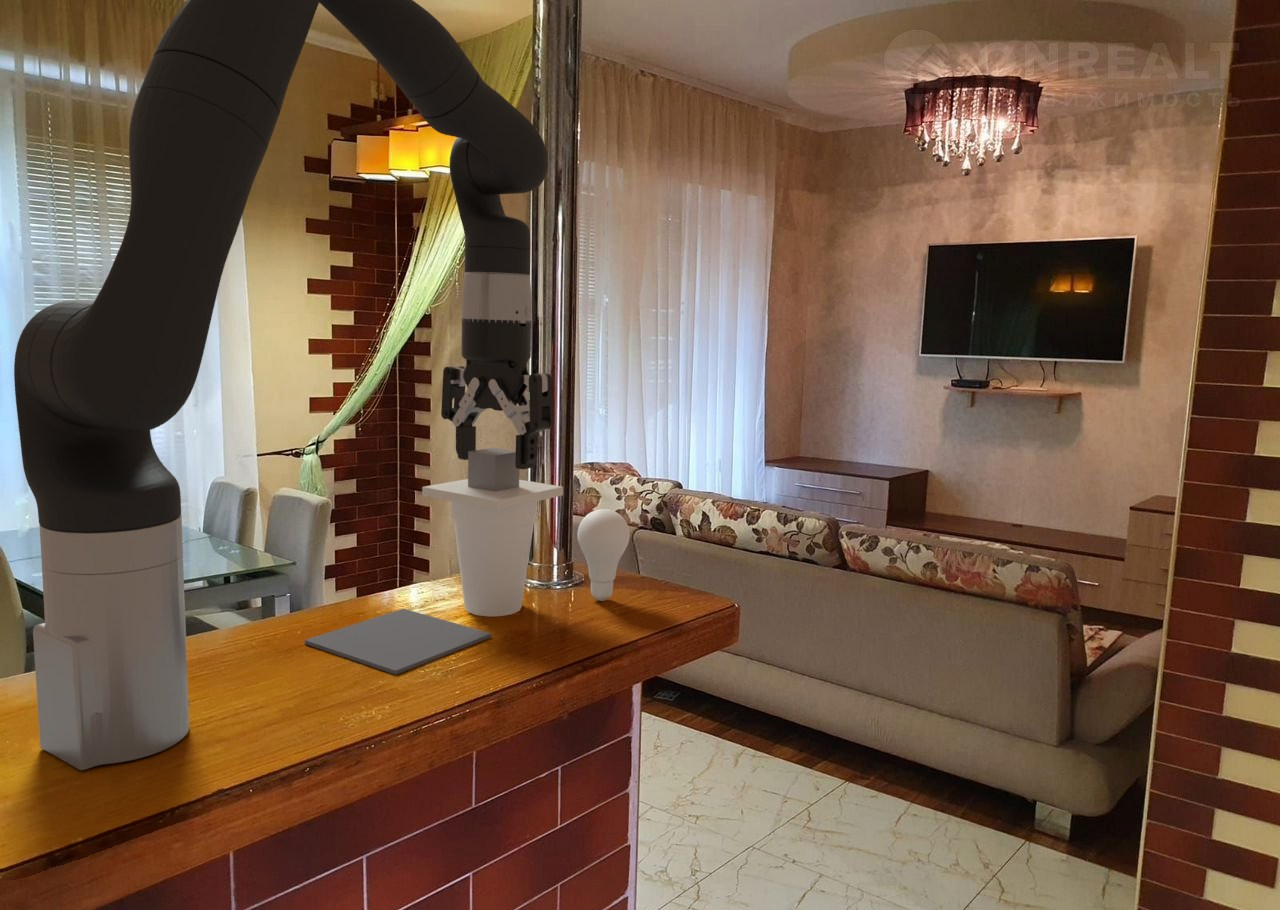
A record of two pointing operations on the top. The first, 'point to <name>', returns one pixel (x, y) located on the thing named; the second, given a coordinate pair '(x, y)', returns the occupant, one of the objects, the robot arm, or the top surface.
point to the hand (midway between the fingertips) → (495, 463)
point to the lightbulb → (603, 548)
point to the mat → (398, 640)
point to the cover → (492, 483)
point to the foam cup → (493, 555)
